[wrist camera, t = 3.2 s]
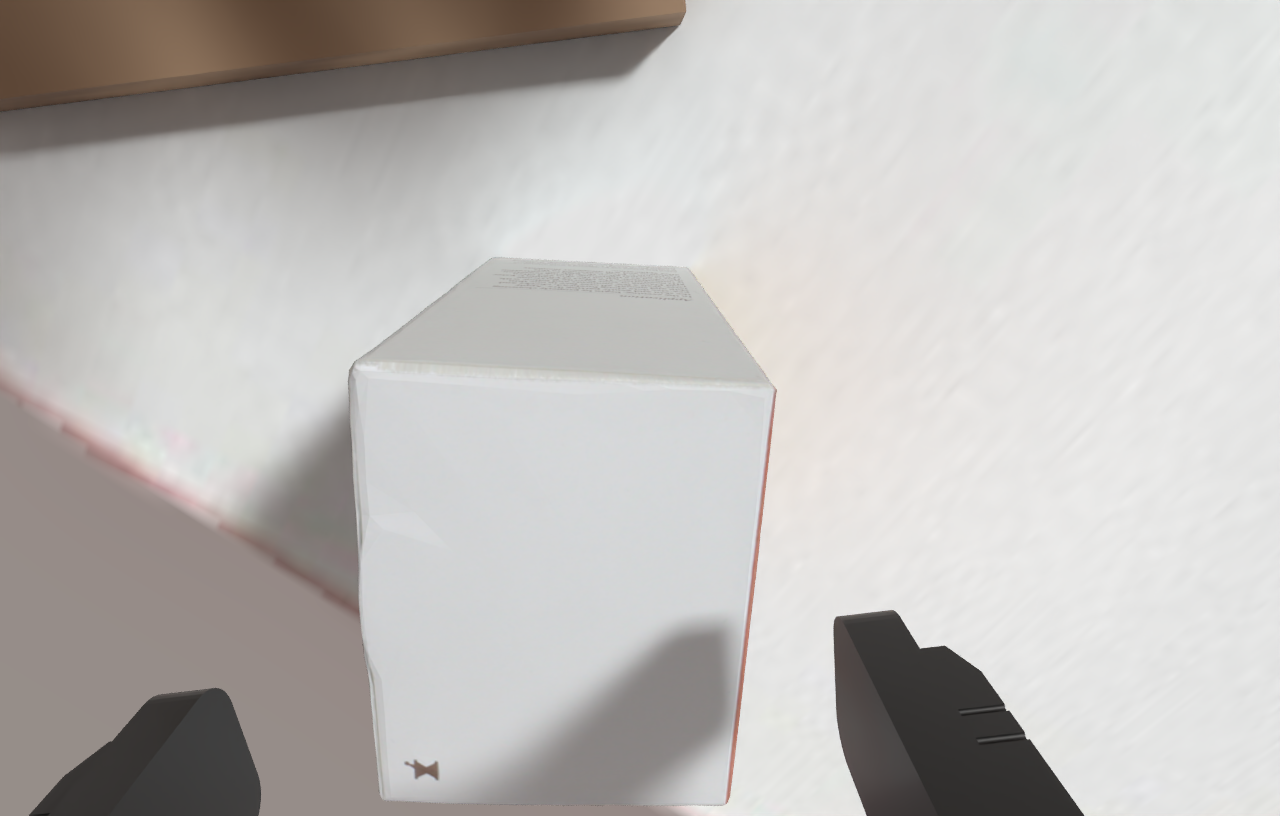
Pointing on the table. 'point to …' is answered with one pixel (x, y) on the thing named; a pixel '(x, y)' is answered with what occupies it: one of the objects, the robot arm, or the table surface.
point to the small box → (559, 537)
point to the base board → (269, 38)
